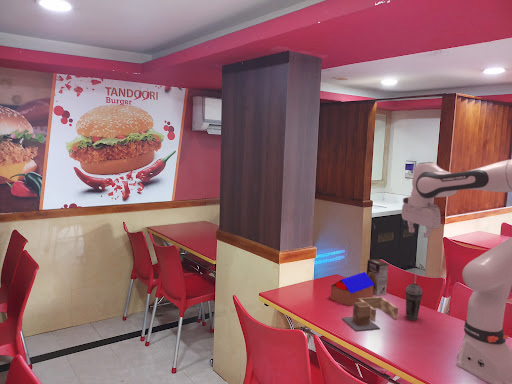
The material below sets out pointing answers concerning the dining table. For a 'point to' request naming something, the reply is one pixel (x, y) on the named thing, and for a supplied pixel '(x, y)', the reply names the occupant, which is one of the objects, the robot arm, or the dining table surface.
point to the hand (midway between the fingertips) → (418, 234)
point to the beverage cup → (413, 300)
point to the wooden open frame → (380, 306)
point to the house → (352, 289)
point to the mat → (360, 328)
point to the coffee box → (378, 275)
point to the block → (361, 313)
